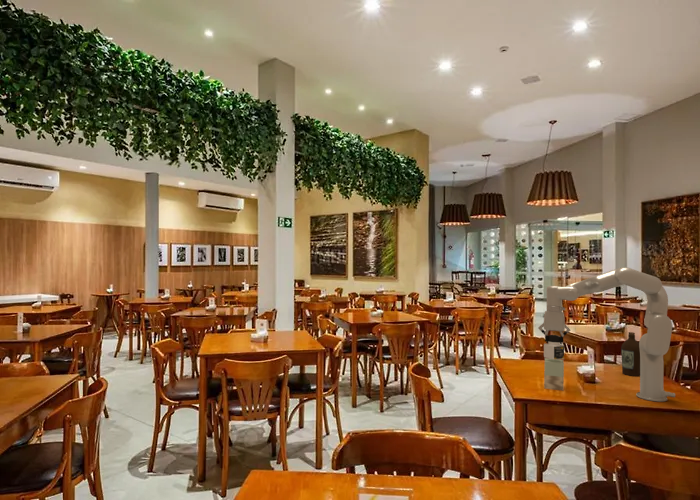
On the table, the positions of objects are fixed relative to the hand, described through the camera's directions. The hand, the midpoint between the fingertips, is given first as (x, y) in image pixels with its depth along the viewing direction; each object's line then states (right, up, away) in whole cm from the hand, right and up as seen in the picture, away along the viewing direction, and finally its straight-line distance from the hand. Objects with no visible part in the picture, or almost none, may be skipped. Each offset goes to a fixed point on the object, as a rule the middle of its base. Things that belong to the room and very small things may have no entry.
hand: (554, 343), depth 238 cm
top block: (0, -16, 0) cm, 16 cm away
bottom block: (0, -23, 0) cm, 23 cm away
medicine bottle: (0, -8, 0) cm, 8 cm away
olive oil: (+60, -25, +31) cm, 72 cm away
